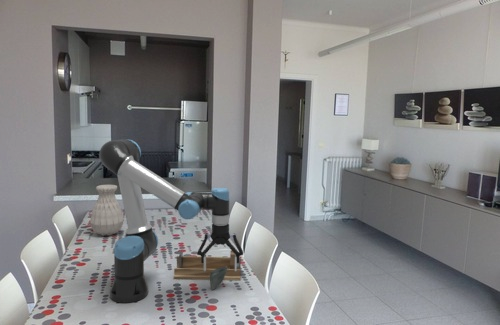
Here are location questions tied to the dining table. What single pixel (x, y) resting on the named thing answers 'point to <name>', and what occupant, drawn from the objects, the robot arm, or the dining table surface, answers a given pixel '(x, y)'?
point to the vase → (106, 212)
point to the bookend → (181, 259)
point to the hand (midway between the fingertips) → (220, 270)
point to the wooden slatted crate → (207, 267)
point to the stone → (217, 277)
